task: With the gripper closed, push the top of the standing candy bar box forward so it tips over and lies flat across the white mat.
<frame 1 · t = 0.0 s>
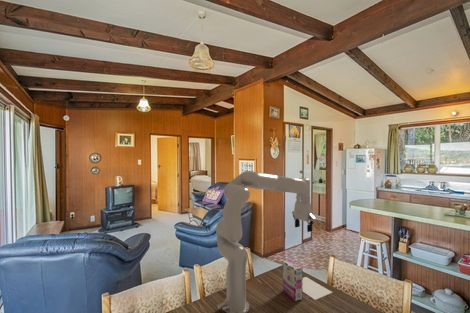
hand: (303, 229, 144), 31 cm above the table, tool pointing down, fingers open, 9 cm apart
candy bar box: (292, 295, 133), on the table
white mat: (310, 288, 139), on the table
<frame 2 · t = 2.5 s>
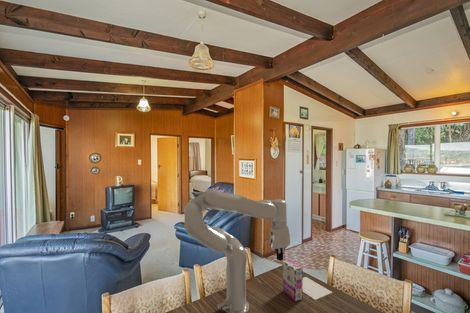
hand: (279, 259, 128), 21 cm above the table, tool pointing down, fingers closed
nothing on the table moved.
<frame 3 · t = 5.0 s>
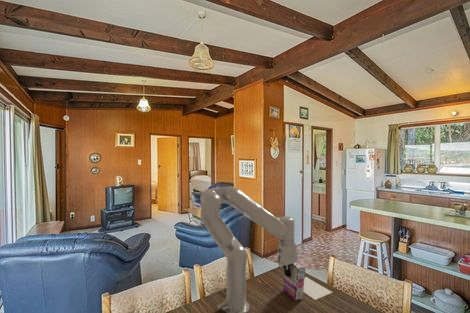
hand: (287, 275, 130), 11 cm above the table, tool pointing down, fingers closed
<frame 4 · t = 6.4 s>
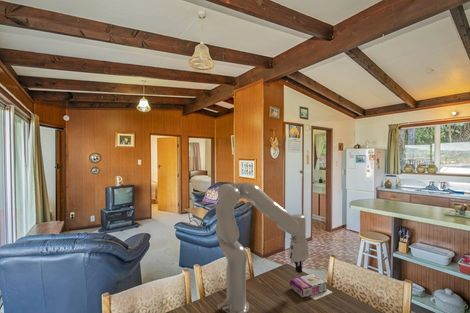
hand: (298, 271, 134), 11 cm above the table, tool pointing down, fingers closed
candy bar box: (295, 288, 134), point 3 cm above the table, touching white mat
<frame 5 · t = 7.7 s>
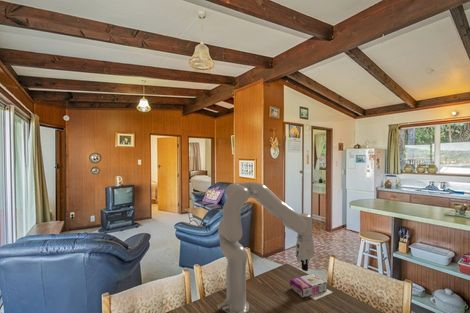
hand: (304, 270, 137), 11 cm above the table, tool pointing down, fingers closed
nothing on the table moved.
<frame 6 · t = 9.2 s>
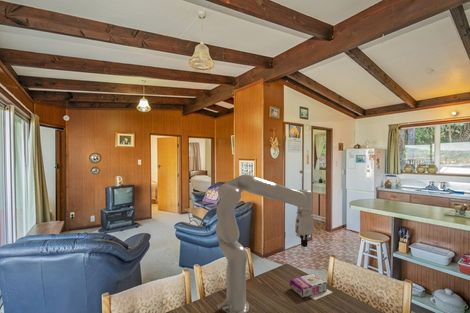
hand: (304, 246, 136), 24 cm above the table, tool pointing down, fingers closed
nothing on the table moved.
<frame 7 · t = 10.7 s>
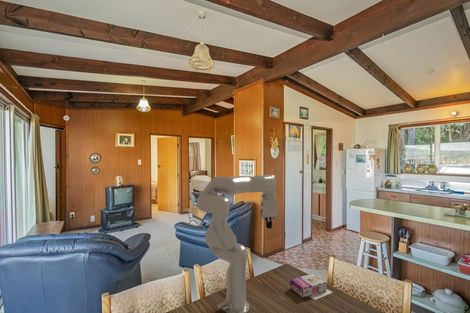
hand: (269, 227, 144), 32 cm above the table, tool pointing down, fingers closed
nothing on the table moved.
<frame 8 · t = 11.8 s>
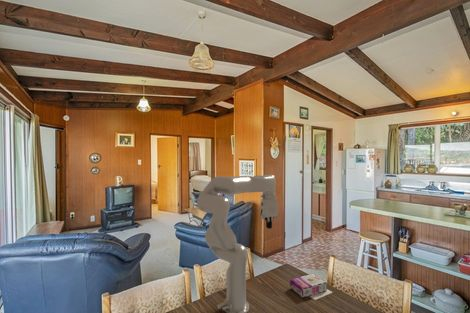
hand: (269, 227, 144), 32 cm above the table, tool pointing down, fingers closed
nothing on the table moved.
at the end: candy bar box tilted 89°; candy bar box touching white mat; candy bar box inside the target area (2.4 cm from its centre), point 2.8 cm above the table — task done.
